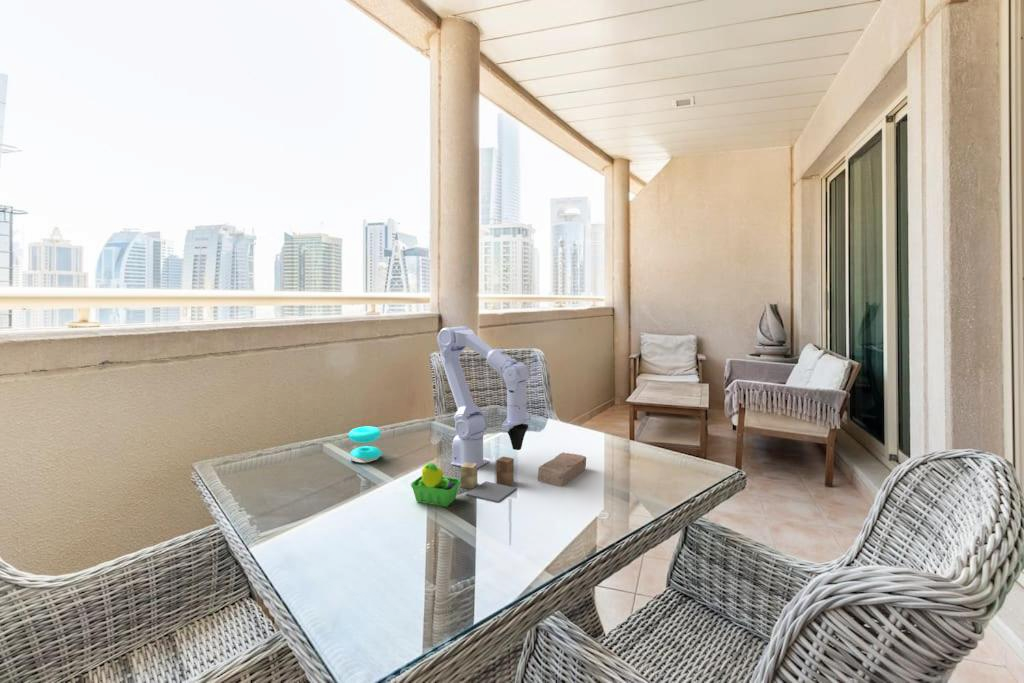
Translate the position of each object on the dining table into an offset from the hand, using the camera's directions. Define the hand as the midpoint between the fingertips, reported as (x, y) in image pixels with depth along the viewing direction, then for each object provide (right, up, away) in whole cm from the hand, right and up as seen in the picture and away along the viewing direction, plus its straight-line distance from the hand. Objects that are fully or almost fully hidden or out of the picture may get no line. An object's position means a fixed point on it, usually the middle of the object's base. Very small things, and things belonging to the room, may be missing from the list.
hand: (516, 449), depth 147 cm
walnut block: (-3, -9, -5) cm, 11 cm away
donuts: (-49, -7, +15) cm, 52 cm away
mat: (-7, -9, -12) cm, 17 cm away
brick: (+14, -8, +1) cm, 16 cm away
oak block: (-14, -9, -7) cm, 18 cm away
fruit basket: (-22, -10, -17) cm, 30 cm away
